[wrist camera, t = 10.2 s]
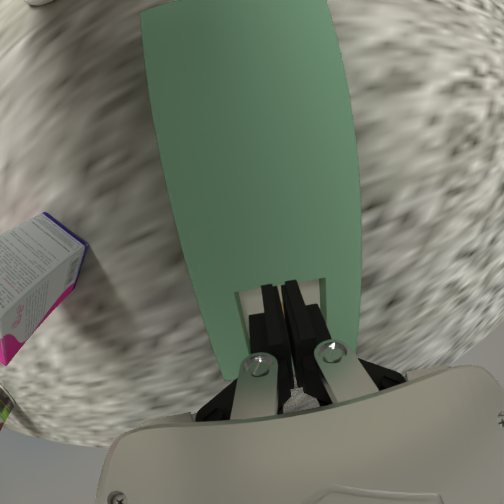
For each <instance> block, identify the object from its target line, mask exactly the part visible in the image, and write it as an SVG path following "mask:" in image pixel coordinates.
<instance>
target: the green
mask: <svg viewBox="0 0 504 504" xmlns="http://www.w3.org/2000/svg"><path fill="white" fill-rule="evenodd" d="M140 21H141V33H142V43H143V53H144V61H145V69H146V77H147V84H148V91H149V98H150V104H151V110H152V116H153V122H154V127H155V133H156V138H157V144H158V149H159V154H160V159H161V164H162V168H163V173H164V178H165V182H166V187H167V191H168V195H169V200H170V204H171V208H172V212H173V216H174V220H175V224H176V228H177V232H178V236H179V240H180V243H181V247H182V251H183V254H184V258H185V262H186V265H187V269H188V272H189V275H190V279H191V282H192V286H193V289H194V292H195V296H196V299H197V302H198V305H199V308H200V312H201V315H202V318H203V321H204V324H205V327H206V330H207V333H208V336H209V339H210V342H211V345H212V348H213V350H214V353H215V356H216V359H217V362H218V364H219V367H220V370H221V373H222V375H223V378H224V380H235V379H237V378H238V374H239V369H240V365H241V362H242V361H243V360H244V359H245V358H246V357H247V356H249V355H251V352H250V334H249V315H252V314H258V313H264V306H263V299H262V292H261V285H266V284H272V285H273V286H277V287H278V292H279V296H280V300H281V302H283V301H282V293H281V285H284V284H285V281H289V280H295V279H296V280H297V283H298V286H299V289H300V291H301V294H302V297H303V300H304V303H305V304H307V305H310V304H316V303H317V304H318V306H319V308H320V311H321V313H322V315H323V318H324V320H325V323H326V325H327V328H328V330H329V333H330V335H331V338H332V339H335V340H341V341H343V342H345V343H346V344H347V345H348V346H349V347H350V348H351V350H352V351H353V353H354V354H356V346H357V336H358V325H359V312H360V296H361V271H362V221H361V196H360V180H359V168H358V157H357V147H356V138H355V130H354V123H353V116H352V109H351V103H350V97H349V91H348V86H347V81H346V76H345V71H344V66H343V61H342V57H341V53H340V48H339V44H338V40H337V36H336V33H335V29H334V25H333V22H332V18H331V15H330V12H329V8H328V5H327V2H326V0H177V1H173V2H170V3H166V4H163V5H160V6H156V7H153V8H150V9H147V10H145V11H142V12H140ZM291 358H292V356H291ZM292 368H293V372H295V370H294V366H293V361H292Z"/></svg>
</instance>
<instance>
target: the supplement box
mask: <svg viewBox="0 0 504 504" xmlns="http://www.w3.org/2000/svg"><path fill="white" fill-rule="evenodd" d="M87 247H88V243H86V242H85V241H84V240H82V239H81V238H80V237H78V236H77V235H75V234H74V233H73V232H71V231H70V230H69V229H67V228H66V227H65V226H63V225H62V224H61V223H59V222H58V221H57V220H56V219H54V218H53V217H52V216H51V215H49V214H48V213H46V212H43V213H41V214H39V215H37V216H35V217H33V218H31V219H29V220H28V221H26V222H24V223H22V224H20V225H18V226H16V227H15V228H13V229H11V230H9V231H7V232H6V233H4V234H2V235H1V236H0V362H1V363H2V364H3V365H5V366H7V365H8V363H9V362H10V361H11V360H12V358H13V357H14V356H15V355H16V353H17V352H18V351H19V349H20V348H21V347H22V346H23V345H24V343H25V342H26V341H27V340H28V339H29V337H30V336H31V335H32V334H33V333H34V331H35V330H36V329H37V328H38V327H39V326H40V325H41V323H42V322H43V321H44V320H45V319H46V318H47V317H48V316H49V314H50V313H51V312H52V311H53V310H54V309H55V308H56V307H57V306H58V305H59V304H60V303H61V302H62V301H63V299H64V298H65V297H66V296H67V295H68V294H69V293H70V292H71V291H72V290H73V289H74V288H75V285H76V281H77V278H78V275H79V272H80V268H81V265H82V262H83V259H84V256H85V253H86V250H87Z"/></svg>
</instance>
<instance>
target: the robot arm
mask: <svg viewBox="0 0 504 504" xmlns="http://www.w3.org/2000/svg"><path fill="white" fill-rule="evenodd" d="M24 1H25V2H27V3H29V4H31V5H35V6H36V5H43V4H46V3H49V2H51V1H53V0H24ZM261 292H262V299H263V306H264V313H258V314H252V315H249V334H250V352H251V355H249V356H247V357H246V358H245V359H244V360H243V361H242V362H241V365H240V369H239V374H238V378H237V379H235V380H234V381H233V382H232V383H231V384H230V385H228V386H227V387H226V388H225V389H224V390H223V391H221V392H220V393H219V394H218V395H217V396H215V397H214V398H213V399H212V400H210V401H209V402H208V403H207V404H206V405H204V406H203V407H202V408H201V409H200V410H199V411H198V412H197V413H194V414H191V412H188V413H183V414H178V415H173V416H168V417H162V418H157V419H151V420H147V421H144V422H143V423H141V424H140V425H139V427H138V428H136V429H133V430H130V431H128V432H125V433H123V434H121V435H120V436H119V437H117V438H116V439H115V440H114V442H113V443H112V445H111V446H110V448H109V450H108V453H107V455H106V458H105V461H104V464H103V467H102V471H101V475H100V479H99V483H98V488H97V493H96V499H95V504H504V388H503V387H502V385H501V384H500V383H499V381H498V380H497V379H496V378H495V377H494V376H493V375H492V374H491V373H490V372H489V371H488V370H487V369H485V368H484V367H481V366H478V365H459V366H454V367H451V366H448V365H443V366H438V367H432V368H427V369H421V370H414V371H408V372H406V374H403V375H401V374H400V373H398V372H396V371H393V370H390V369H387V368H384V367H381V366H379V365H376V364H373V363H370V362H367V361H364V360H362V359H359V358H357V357H356V355H355V354H354V353H353V351H352V350H351V348H350V347H349V346H348V345H347V344H346V343H345V342H343V341H341V340H335V339H332V338H331V335H330V333H329V330H328V328H327V325H326V323H325V320H324V318H323V315H322V313H321V311H320V308H319V306H318V304H317V303H316V304H310V305H305V303H304V300H303V297H302V294H301V291H300V289H299V286H298V283H297V280H296V279H295V280H289V281H285V284H284V285H281V293H282V301H283V309H284V314H283V309H282V305H281V300H280V296H279V292H278V287H277V286H273V285H272V284H266V285H261ZM284 317H285V318H284ZM291 356H292V358H291ZM292 361H293V366H294V370H295V375H296V380H297V385H298V388H300V387H303V391H304V393H306V394H308V395H310V396H312V397H314V401H315V404H316V406H317V408H312V409H307V410H302V411H296V412H291V413H285V414H284V403H285V402H286V401H287V400H288V399H289V398H290V397H291V391H290V389H294V379H293V368H292Z"/></svg>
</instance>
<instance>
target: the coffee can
mask: <svg viewBox="0 0 504 504" xmlns="http://www.w3.org/2000/svg"><path fill="white" fill-rule="evenodd" d="M14 406H15V402H14V400H13V398H12V397H11V395H10V394H9V393H8V392H7V390H6V389H5V388H4V387H3V386H2V385H1V384H0V430H1V429H2V427H3V425H4V423H5V421H6V419H7V417H8V415H9V414H10V412H11V410H12V408H13V407H14Z"/></svg>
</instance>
